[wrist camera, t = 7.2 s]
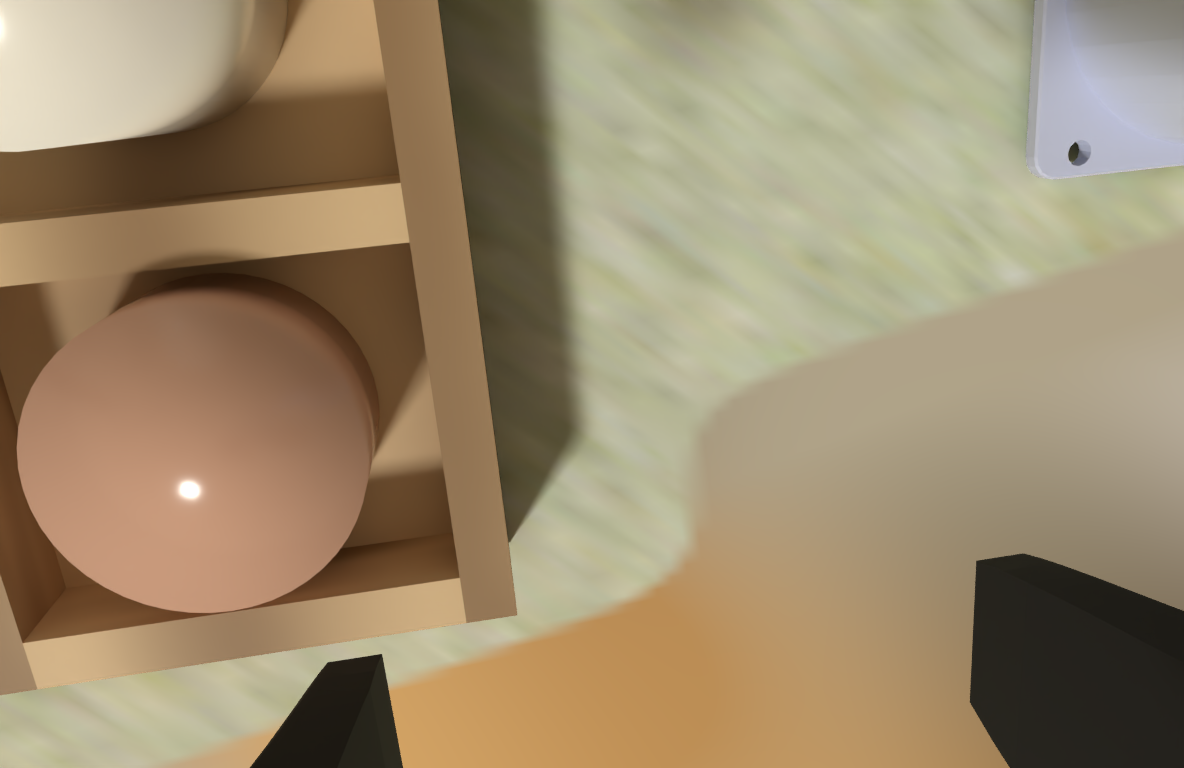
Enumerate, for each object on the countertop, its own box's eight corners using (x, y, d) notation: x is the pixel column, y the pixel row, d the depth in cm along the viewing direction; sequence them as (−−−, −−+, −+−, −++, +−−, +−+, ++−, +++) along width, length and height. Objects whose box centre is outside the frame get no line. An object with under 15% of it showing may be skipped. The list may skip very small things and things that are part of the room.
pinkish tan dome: (355, 257, 18) (337, 285, 15) (399, 520, 19) (389, 587, 17) (48, 290, 17) (-28, 325, 14) (122, 559, 19) (66, 635, 16)
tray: (402, -275, 16) (391, -355, 13) (508, 544, 21) (516, 615, 18) (-218, -245, 15) (-377, -326, 12) (48, 612, 20) (-20, 698, 17)
